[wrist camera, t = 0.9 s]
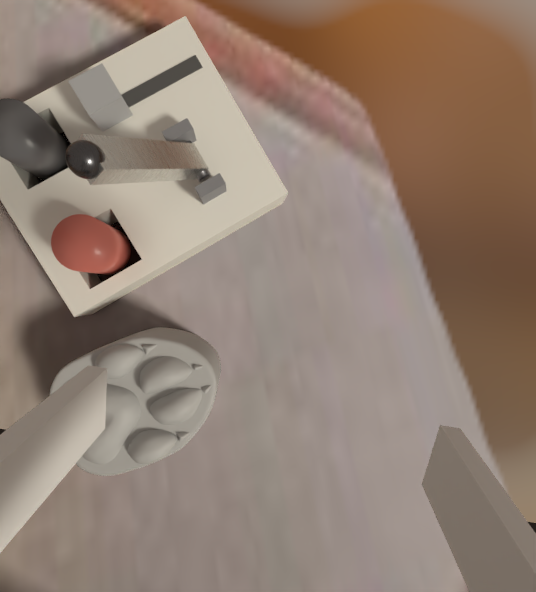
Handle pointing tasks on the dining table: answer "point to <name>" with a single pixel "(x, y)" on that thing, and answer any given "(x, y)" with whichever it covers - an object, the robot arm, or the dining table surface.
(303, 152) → the dining table surface
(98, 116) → the slider knob
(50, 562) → the dining table surface
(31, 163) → the button black
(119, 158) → the lever
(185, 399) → the lumpy-topped squat cylinder
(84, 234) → the button red
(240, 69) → the dining table surface
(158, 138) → the panel
